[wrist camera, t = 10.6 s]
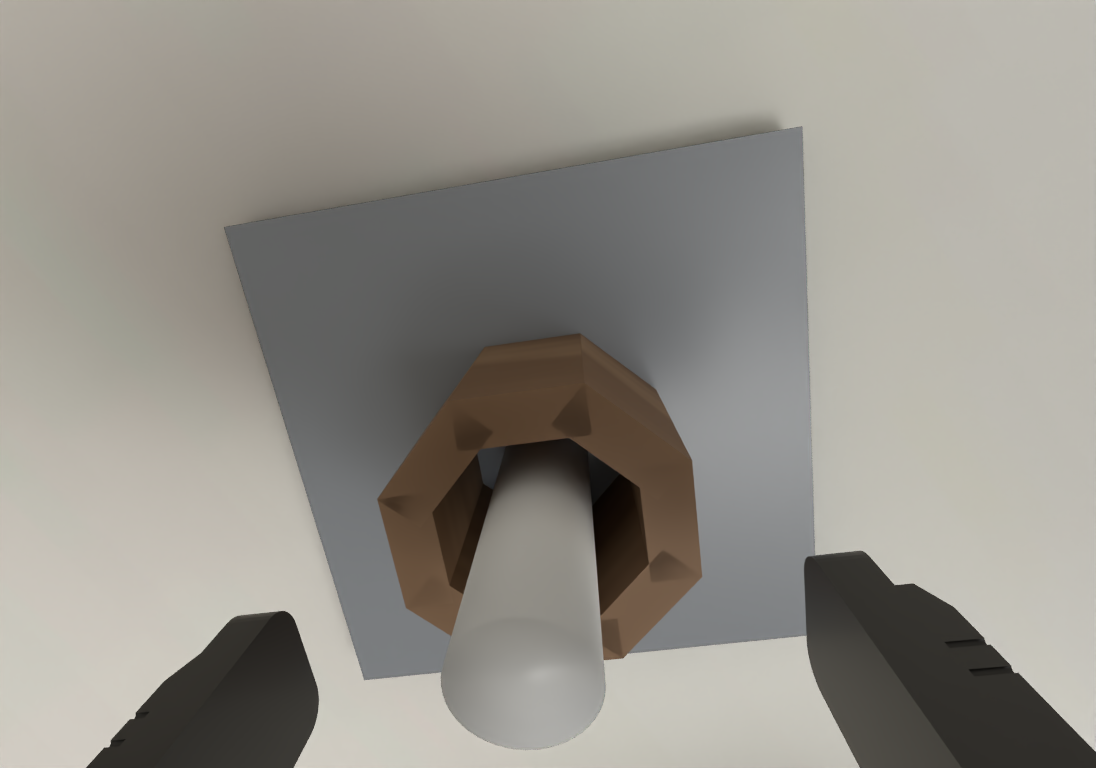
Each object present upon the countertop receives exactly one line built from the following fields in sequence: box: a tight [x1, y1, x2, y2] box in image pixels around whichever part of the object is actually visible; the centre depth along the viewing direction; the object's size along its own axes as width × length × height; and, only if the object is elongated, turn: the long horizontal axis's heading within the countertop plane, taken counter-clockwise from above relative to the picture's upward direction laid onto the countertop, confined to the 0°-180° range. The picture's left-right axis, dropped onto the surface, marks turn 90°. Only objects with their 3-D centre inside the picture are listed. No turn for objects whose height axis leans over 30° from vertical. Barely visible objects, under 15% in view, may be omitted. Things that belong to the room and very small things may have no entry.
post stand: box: [224, 126, 815, 750], centre depth 12 cm, size 14×14×9 cm
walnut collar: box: [377, 333, 703, 660], centre depth 13 cm, size 6×6×4 cm
